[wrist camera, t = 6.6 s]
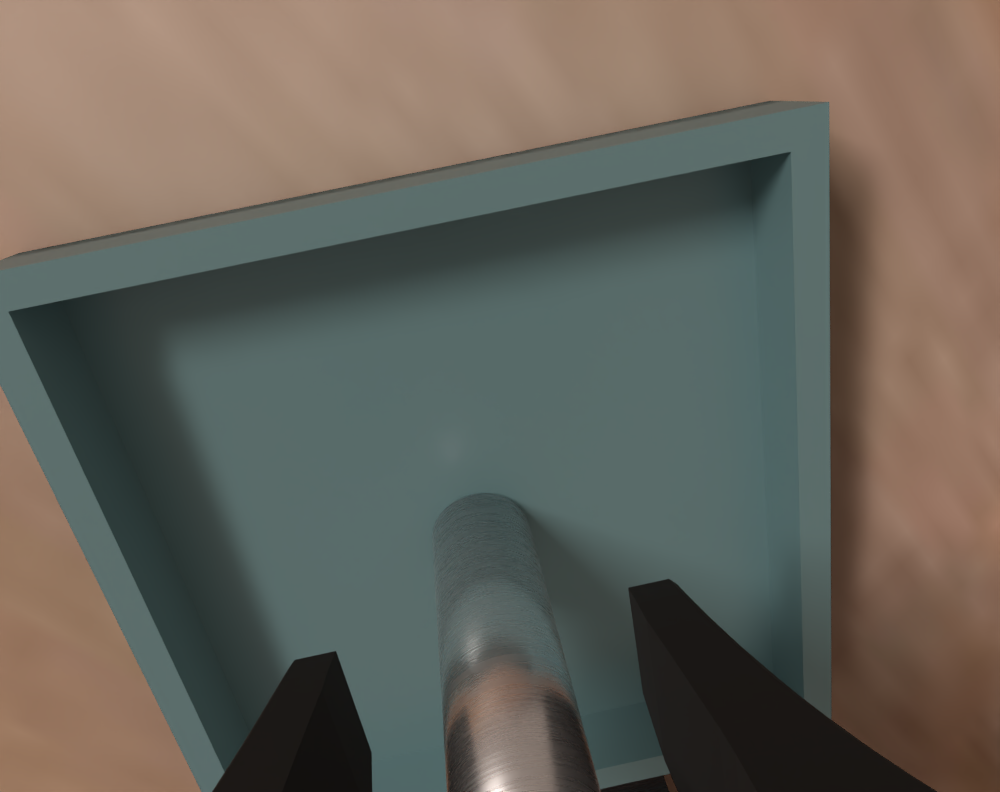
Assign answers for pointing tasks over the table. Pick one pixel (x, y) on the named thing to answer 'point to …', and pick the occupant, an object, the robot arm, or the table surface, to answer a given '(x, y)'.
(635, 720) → the tray
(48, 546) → the table surface
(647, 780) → the block
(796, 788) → the robot arm
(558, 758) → the steel pin
